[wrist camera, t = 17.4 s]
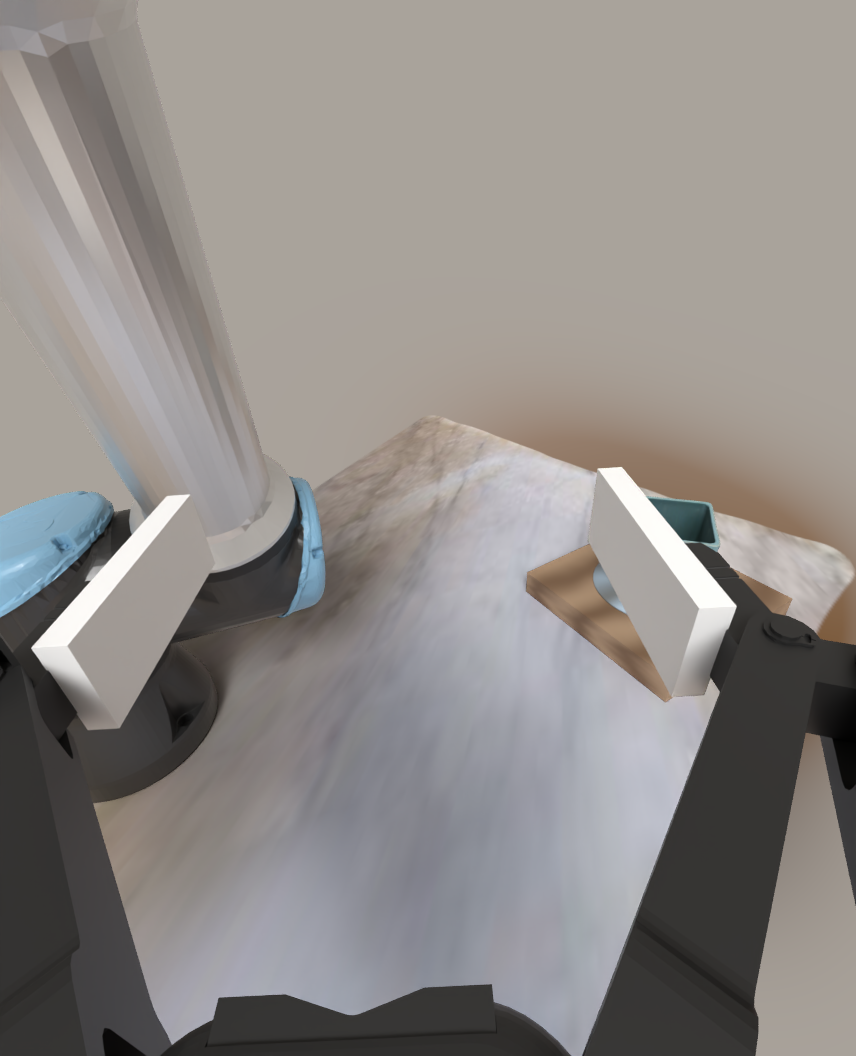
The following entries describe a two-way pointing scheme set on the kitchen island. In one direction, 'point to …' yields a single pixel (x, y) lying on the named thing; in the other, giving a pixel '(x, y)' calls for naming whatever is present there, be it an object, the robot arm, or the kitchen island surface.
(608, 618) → the walnut plinth
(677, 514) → the flower pot
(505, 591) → the kitchen island surface
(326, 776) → the kitchen island surface
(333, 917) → the kitchen island surface
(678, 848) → the robot arm
